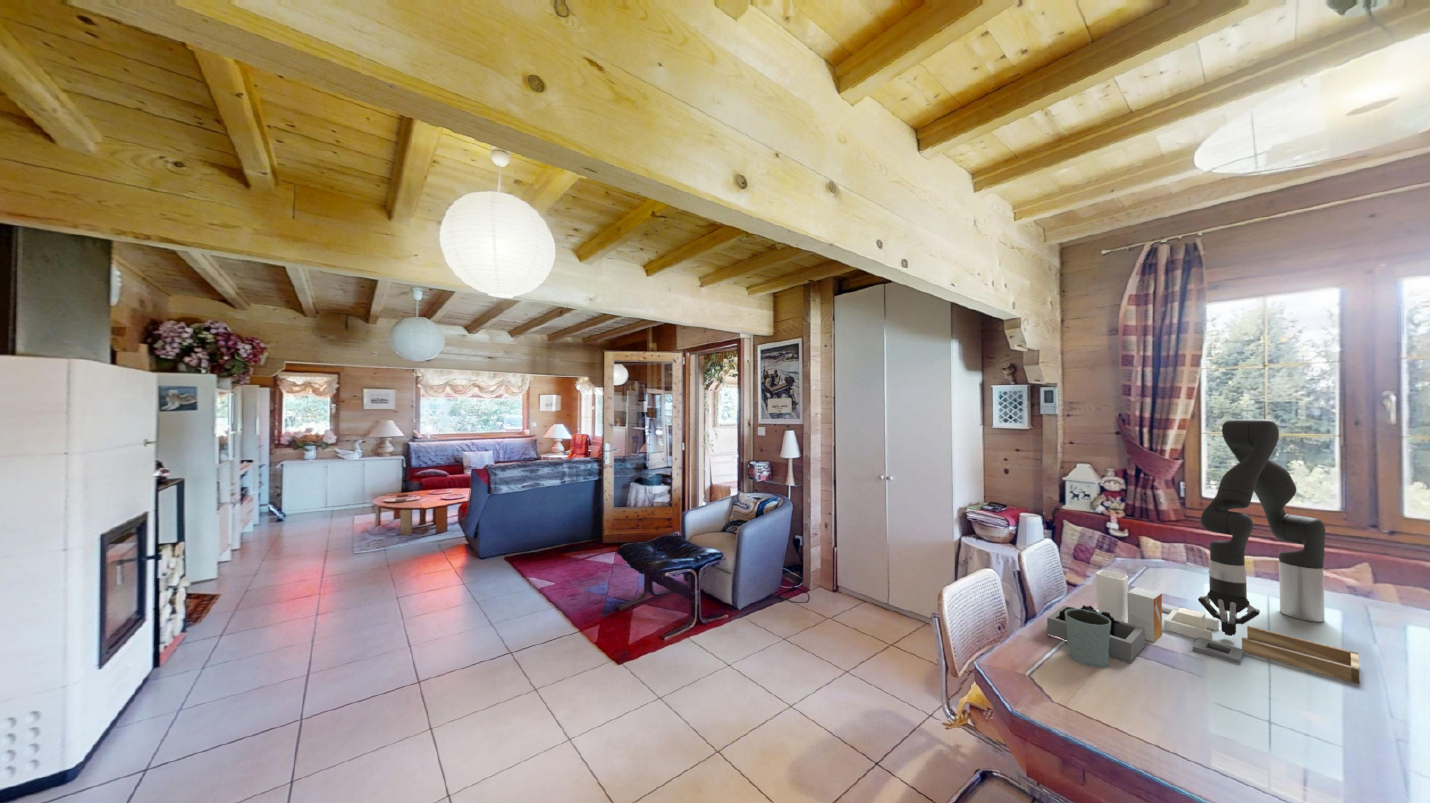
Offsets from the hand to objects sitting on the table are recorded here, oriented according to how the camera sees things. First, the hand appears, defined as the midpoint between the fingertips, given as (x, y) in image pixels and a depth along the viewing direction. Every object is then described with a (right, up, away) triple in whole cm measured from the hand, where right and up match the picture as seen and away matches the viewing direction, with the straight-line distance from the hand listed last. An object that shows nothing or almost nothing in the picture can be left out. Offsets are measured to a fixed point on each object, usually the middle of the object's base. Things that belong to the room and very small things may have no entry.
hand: (1228, 634), depth 139 cm
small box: (-22, -2, +3) cm, 23 cm away
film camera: (-42, -2, -1) cm, 42 cm away
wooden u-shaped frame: (+7, -1, -10) cm, 12 cm away
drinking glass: (-51, -2, -11) cm, 52 cm away
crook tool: (+1, -2, +14) cm, 14 cm away
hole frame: (-11, -1, -7) cm, 13 cm away
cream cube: (-5, -2, +6) cm, 8 cm away
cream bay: (-5, -2, +6) cm, 8 cm away
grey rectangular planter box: (-41, -2, -1) cm, 41 cm away
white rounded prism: (-24, -2, +13) cm, 27 cm away
